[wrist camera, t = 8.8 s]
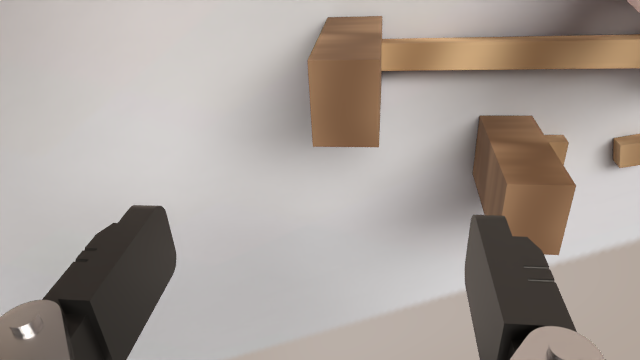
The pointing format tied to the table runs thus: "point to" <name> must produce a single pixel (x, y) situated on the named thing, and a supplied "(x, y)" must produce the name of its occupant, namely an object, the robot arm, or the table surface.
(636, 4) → the smoothie
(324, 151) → the table surface
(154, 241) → the robot arm
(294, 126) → the table surface
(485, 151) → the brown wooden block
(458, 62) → the wooden mallet
